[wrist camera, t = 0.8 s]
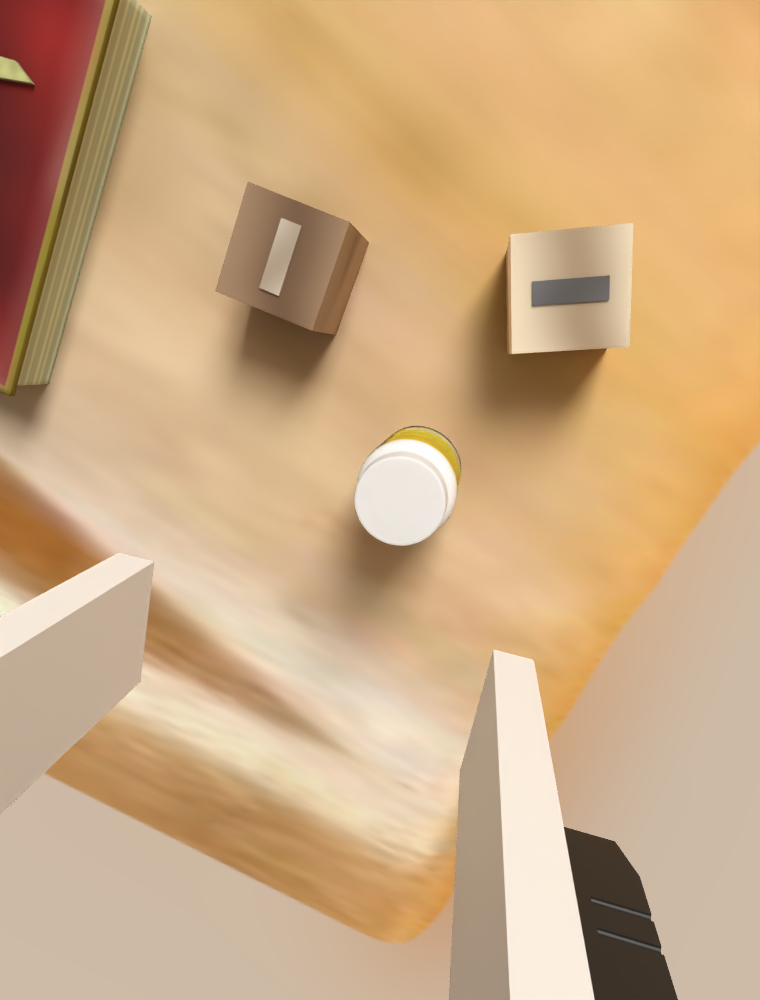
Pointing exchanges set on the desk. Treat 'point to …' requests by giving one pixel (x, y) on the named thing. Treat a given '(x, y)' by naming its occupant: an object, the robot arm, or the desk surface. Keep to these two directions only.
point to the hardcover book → (55, 160)
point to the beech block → (569, 289)
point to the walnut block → (291, 260)
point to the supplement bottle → (408, 486)
